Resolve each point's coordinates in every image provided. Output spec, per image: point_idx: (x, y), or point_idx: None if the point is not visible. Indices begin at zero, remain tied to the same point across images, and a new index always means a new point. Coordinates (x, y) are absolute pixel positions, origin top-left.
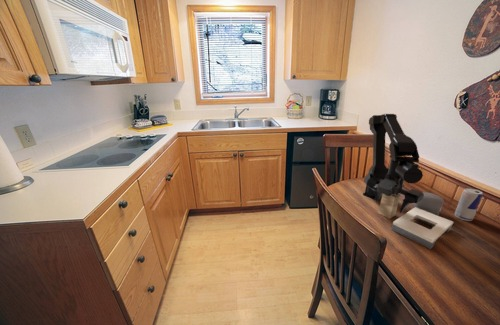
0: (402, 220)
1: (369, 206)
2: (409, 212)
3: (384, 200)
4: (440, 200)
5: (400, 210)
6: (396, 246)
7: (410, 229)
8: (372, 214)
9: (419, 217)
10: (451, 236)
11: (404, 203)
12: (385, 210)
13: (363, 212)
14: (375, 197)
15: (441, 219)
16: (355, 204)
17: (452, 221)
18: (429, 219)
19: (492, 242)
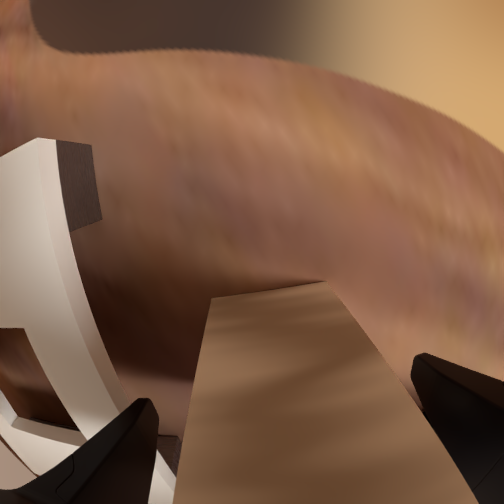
0: (24, 267)
1: (425, 307)
2: None
3: (360, 417)
4: None
5: (135, 414)
6: (11, 45)
7: None
8: (344, 210)
9: (82, 437)
10: (10, 400)
11: (51, 494)
12: (274, 325)
13: (404, 162)
14: (472, 374)
15: (47, 468)
16: (489, 224)
17: (35, 473)
18: (41, 439)
19: (4, 442)
